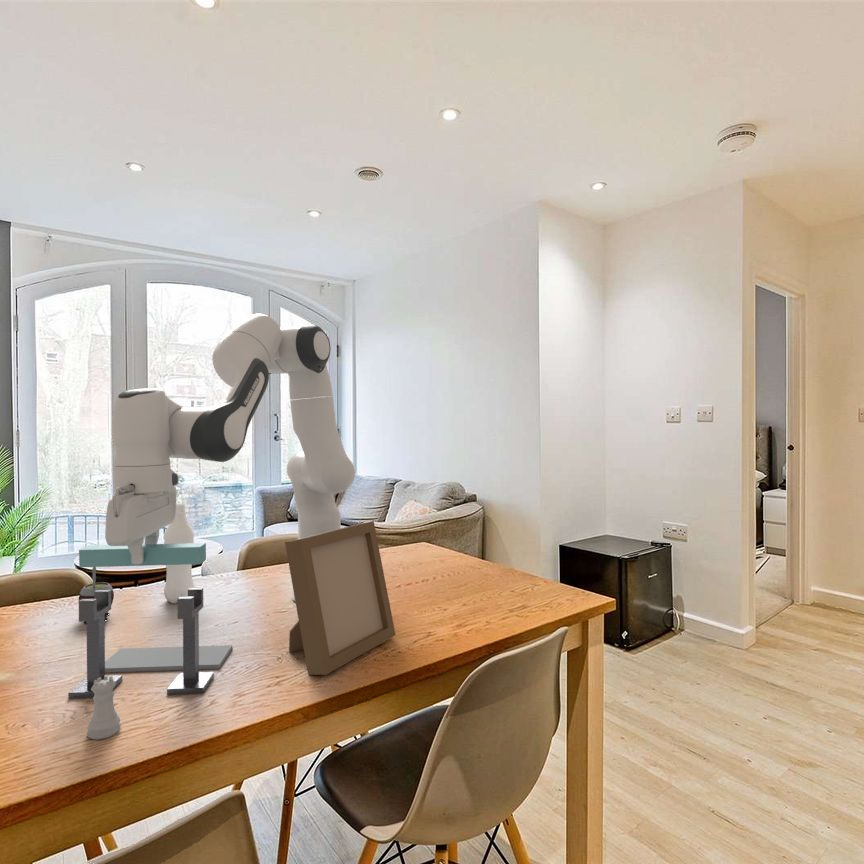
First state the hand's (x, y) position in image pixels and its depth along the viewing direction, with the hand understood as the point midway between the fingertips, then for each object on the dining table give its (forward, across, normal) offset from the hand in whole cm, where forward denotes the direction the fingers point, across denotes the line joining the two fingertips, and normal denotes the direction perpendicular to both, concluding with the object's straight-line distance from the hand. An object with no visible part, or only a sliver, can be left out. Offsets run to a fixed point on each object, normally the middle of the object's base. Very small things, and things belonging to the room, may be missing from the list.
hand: (144, 559), depth 97 cm
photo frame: (+23, +13, -32) cm, 41 cm away
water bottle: (+23, +48, +11) cm, 54 cm away
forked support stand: (+22, 0, 0) cm, 23 cm away
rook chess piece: (+23, -14, 0) cm, 27 cm away
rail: (+1, 0, 0) cm, 1 cm away
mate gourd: (+23, +35, +25) cm, 49 cm away
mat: (+23, +11, 0) cm, 25 cm away
